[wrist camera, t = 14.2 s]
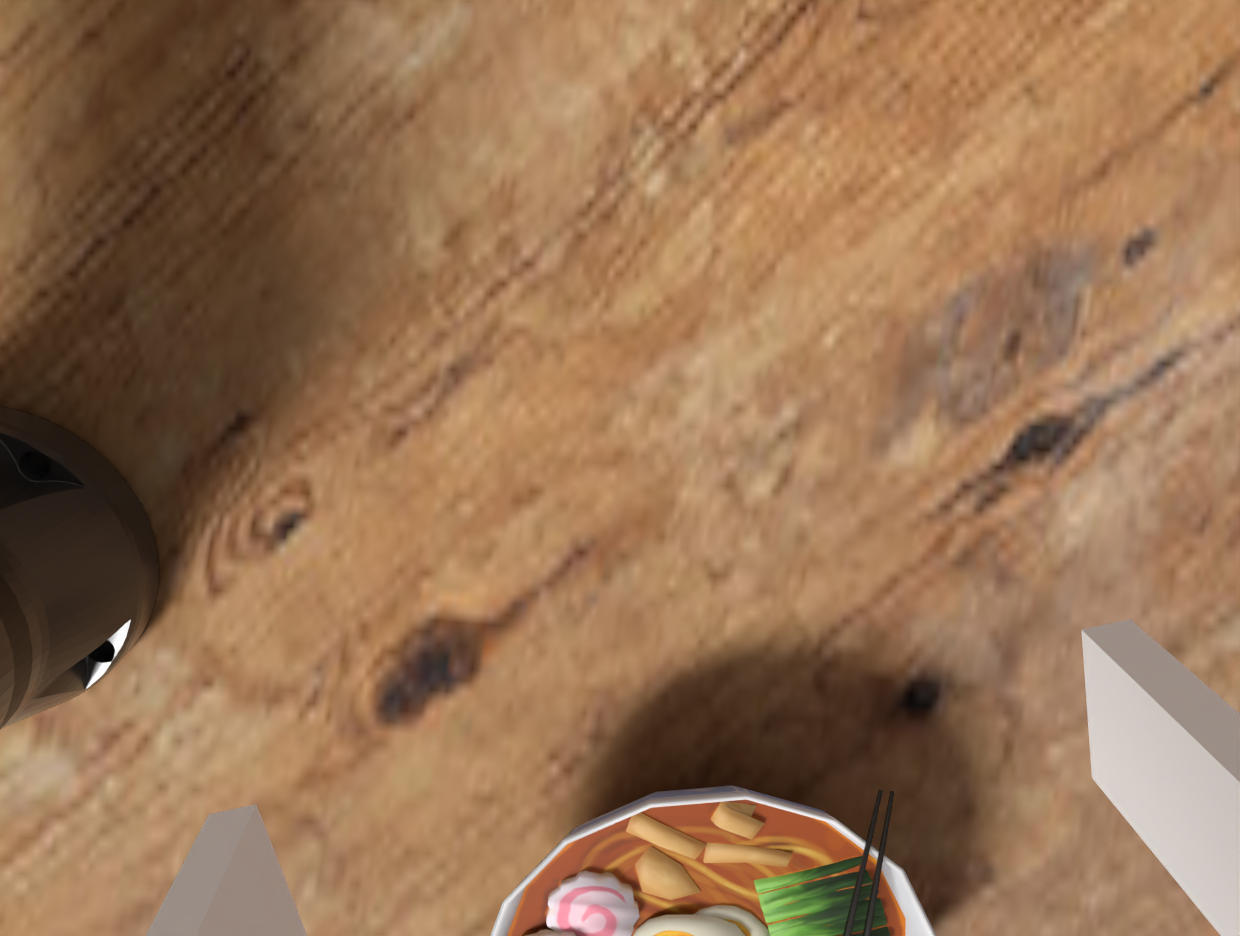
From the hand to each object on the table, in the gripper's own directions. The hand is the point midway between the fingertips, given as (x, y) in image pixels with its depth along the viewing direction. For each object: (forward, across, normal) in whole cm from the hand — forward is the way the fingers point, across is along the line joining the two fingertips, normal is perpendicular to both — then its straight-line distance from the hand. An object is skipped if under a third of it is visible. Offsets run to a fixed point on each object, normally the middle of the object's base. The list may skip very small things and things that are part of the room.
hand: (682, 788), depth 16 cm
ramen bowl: (+33, -1, -31) cm, 45 cm away
